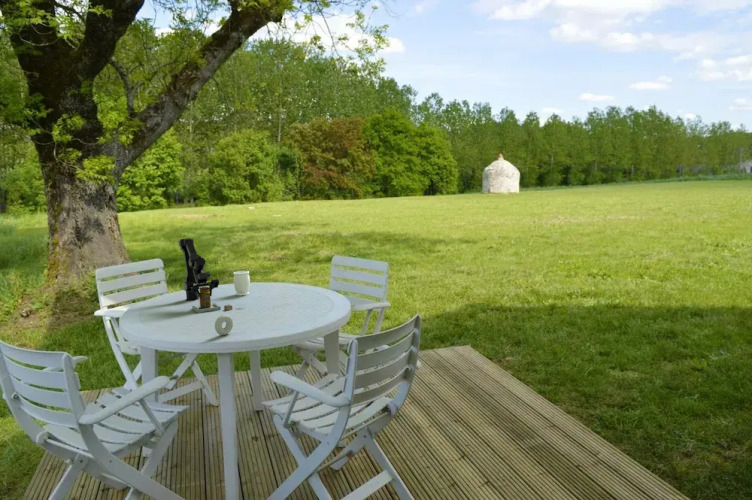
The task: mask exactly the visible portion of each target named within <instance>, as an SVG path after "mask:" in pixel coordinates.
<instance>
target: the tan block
mask: <svg viewBox="0 0 752 500" xmlns="http://www.w3.org/2000/svg"><path fill="white" fill-rule="evenodd" d="M223 309H224V311H227V310H228V311H232V310H233V305H232V304H225V305H224V307H223Z"/></svg>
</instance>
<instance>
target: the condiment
mask: <svg viewBox="0 0 752 500" xmlns="http://www.w3.org/2000/svg"><path fill="white" fill-rule="evenodd" d="M199 293H200V296H201V298H199V306H198V307H199V309H206V308H212V305H213V304H212V301H211V300H212V299H211V296H210V291H209V286H204V287H199Z"/></svg>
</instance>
